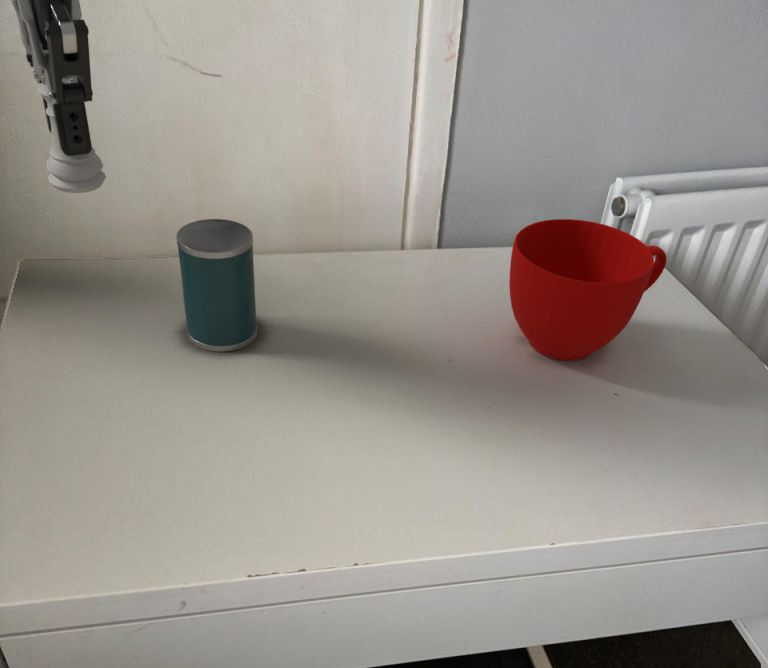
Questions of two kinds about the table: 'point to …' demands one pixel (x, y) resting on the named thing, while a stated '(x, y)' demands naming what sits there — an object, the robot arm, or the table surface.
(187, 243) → the tin can
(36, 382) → the table surface
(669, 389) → the table surface
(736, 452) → the table surface
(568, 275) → the ceramic cup
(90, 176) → the rook chess piece
